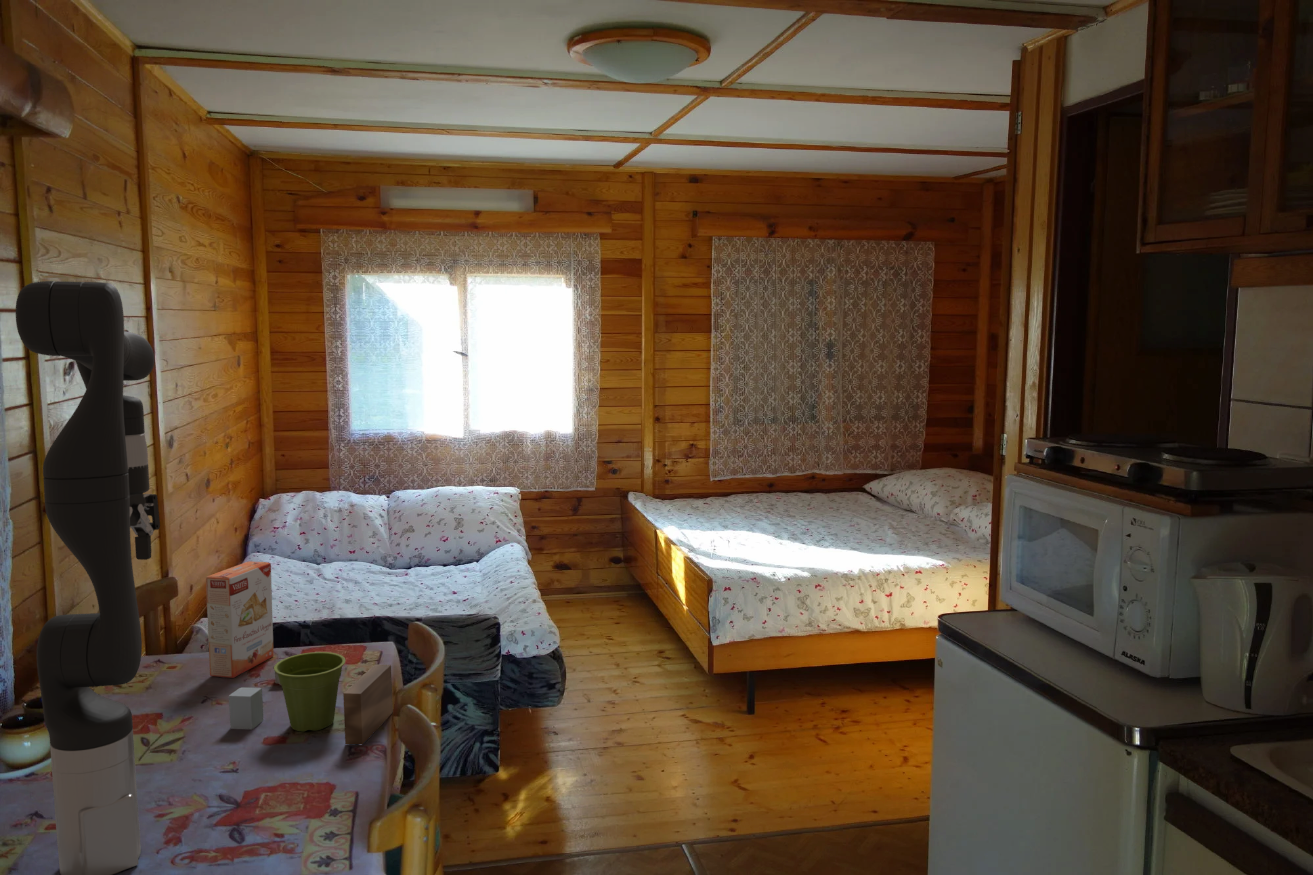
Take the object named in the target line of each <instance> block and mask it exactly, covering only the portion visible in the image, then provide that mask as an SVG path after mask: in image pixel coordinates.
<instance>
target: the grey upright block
mask: <svg viewBox="0 0 1313 875" xmlns="http://www.w3.org/2000/svg"><path fill="white" fill-rule="evenodd" d="M263 704H264V701H263V688H262V687H239V688H238V689H236V690H235V691H233V692H232V693H230V694H229V695H228V708H229V728H230V729H232V730H253V729H255V728H256V727H257V726H258V725H260V724H261V723H262V722H264V721H265V720H264V705H263Z"/></svg>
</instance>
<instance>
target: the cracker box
mask: <svg viewBox="0 0 1313 875" xmlns="http://www.w3.org/2000/svg"><path fill="white" fill-rule="evenodd" d="M205 584H206V587H205V588H206V607H207V608H206V610H207V611H206V613H207V636H208V659H209V660H208V661H209V676H210V677H219V678H230V679H234V678H237V677H238V676H240V675H241V674H243V673H245V672H247V671H249V670H251V669H252V668H254V667H256V666H258V665H260V664H262V663H264V662H266V661H267V660H269V659H271V658H273V657H274V656H275V654H274V631H273V630H274V627H273V625H274V623H273V595H272V592H273V591H272V590H273V588H272V563H271V562H267V561H252V560H251V561H250V560H249V561H246V562H243V563H240V564H237V565H235V566H232V567H228V568H227V569H223V570H221V571H218V572H216V573H213V574H210V575H207V576H206V577H205Z"/></svg>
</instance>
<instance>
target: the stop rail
mask: <svg viewBox="0 0 1313 875" xmlns="http://www.w3.org/2000/svg"><path fill="white" fill-rule="evenodd" d="M392 680H393V679H392V664H380V663H379V664H377V663H376V664H374V665H373V666H372V667H371V668H370V669H369V670H366V672H365V673H364V674H363V675H362V676H361V677H359V679H357V680H356V681H355V682H354V683H353V684H352V685H351V686H350V687H348V689H346V690H345V691H344V692H343V695H342V696H343V697H342V698H343V718H344V741H345V742H344V744H363V743H364V742H365V741H366V740H367V739H368V738H369V737H370V736H371V735H372V734H373V735H374V733H375V732H377V730H378V729H379V728H380V727H381V726H382V725H383V723H385V721H386V720H388V719H389V717H390V716H391V715H392V714H393V712H394V711H393V710H394V709H393V707H394V706H393V684H392ZM373 732H374V733H373ZM373 735H372V736H373ZM372 736H371V737H372ZM371 737H370V738H371ZM370 738H369V739H370ZM369 739H368V740H369ZM368 740H367V741H368ZM367 741H366V742H367ZM366 742H365V743H366ZM365 743H364V744H365ZM364 744H363V745H364Z"/></svg>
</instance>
